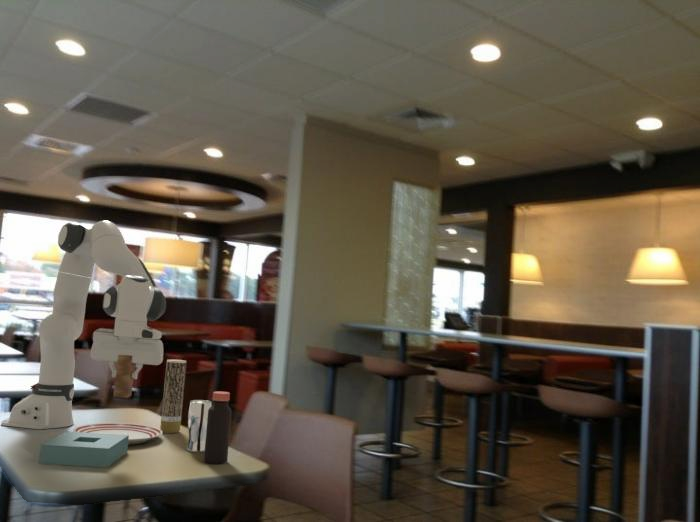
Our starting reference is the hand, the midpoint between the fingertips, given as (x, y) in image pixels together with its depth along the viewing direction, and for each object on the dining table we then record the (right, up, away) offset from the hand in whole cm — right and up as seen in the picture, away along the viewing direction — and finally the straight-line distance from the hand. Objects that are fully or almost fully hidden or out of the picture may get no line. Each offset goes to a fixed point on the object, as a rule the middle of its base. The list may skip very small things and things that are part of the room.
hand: (124, 378), depth 178 cm
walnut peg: (0, -5, 0) cm, 5 cm away
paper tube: (+2, -26, +38) cm, 46 cm away
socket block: (-9, -22, -5) cm, 24 cm away
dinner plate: (-10, -24, +21) cm, 34 cm away
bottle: (+26, -25, +1) cm, 36 cm away
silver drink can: (+18, -25, +14) cm, 34 cm away
